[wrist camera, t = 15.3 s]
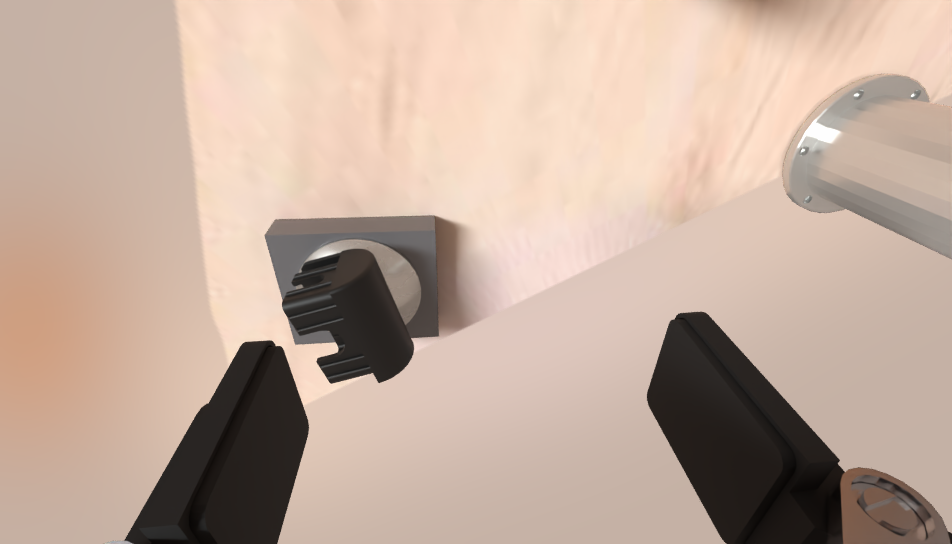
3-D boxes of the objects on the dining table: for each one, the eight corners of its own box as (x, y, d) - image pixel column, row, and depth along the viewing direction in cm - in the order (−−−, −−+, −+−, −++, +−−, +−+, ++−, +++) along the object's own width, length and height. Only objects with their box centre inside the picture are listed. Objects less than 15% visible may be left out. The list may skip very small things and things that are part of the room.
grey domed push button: (434, 215, 38) (435, 232, 35) (437, 317, 45) (438, 339, 42) (275, 219, 37) (262, 237, 34) (302, 324, 43) (294, 347, 40)
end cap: (415, 323, 40) (414, 375, 35) (345, 342, 41) (333, 396, 35) (378, 236, 35) (369, 280, 29) (297, 258, 35) (274, 306, 29)
